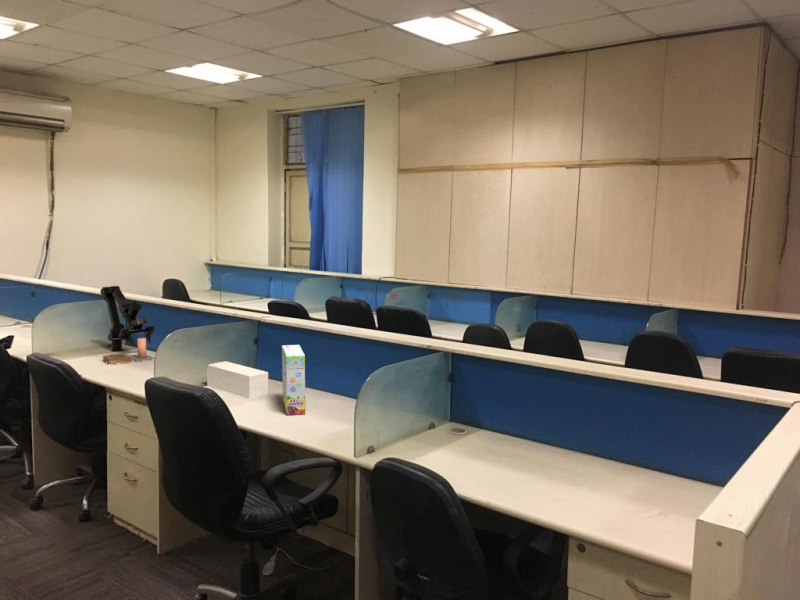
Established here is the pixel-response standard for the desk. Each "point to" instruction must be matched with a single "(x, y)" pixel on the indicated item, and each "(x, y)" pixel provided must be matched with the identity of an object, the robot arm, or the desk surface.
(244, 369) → the stack of papers
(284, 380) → the snack box
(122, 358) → the walnut pocket block
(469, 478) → the desk surface
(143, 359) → the rubber mat
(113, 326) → the robot arm
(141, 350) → the terracotta peg
